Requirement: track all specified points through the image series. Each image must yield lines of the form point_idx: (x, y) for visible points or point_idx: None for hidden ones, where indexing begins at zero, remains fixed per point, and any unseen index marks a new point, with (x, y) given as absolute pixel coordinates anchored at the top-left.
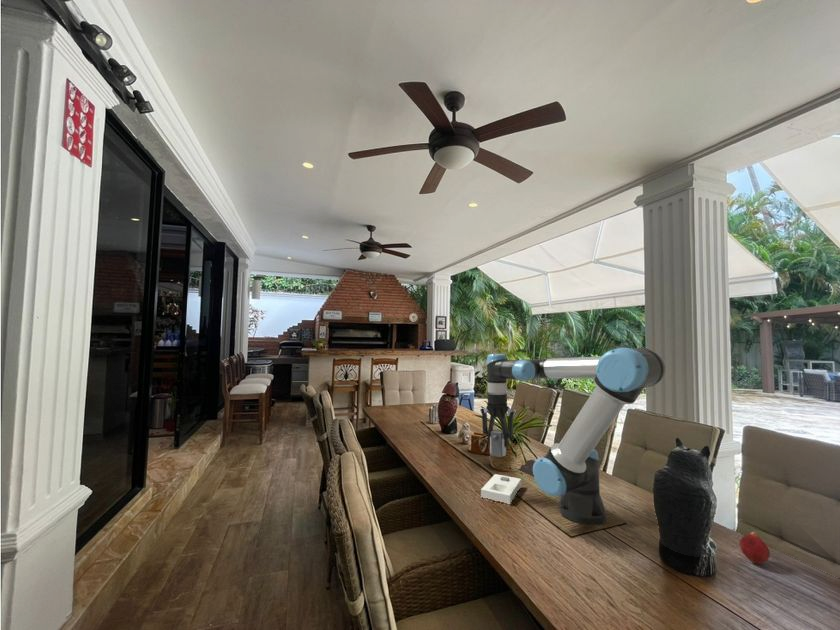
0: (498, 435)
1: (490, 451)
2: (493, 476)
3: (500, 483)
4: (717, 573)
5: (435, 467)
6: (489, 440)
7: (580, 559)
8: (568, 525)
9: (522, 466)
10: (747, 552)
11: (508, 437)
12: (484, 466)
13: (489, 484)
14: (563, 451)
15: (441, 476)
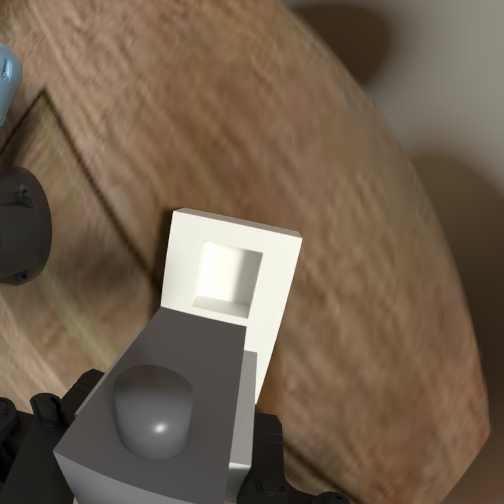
0: (105, 442)
1: (254, 363)
2: (259, 382)
3: None
4: None
5: (443, 415)
6: (262, 442)
7: (52, 21)
8: (38, 144)
9: None
10: None
11: (31, 415)
12: (299, 469)
13: (269, 302)
14: None
15: (436, 368)
